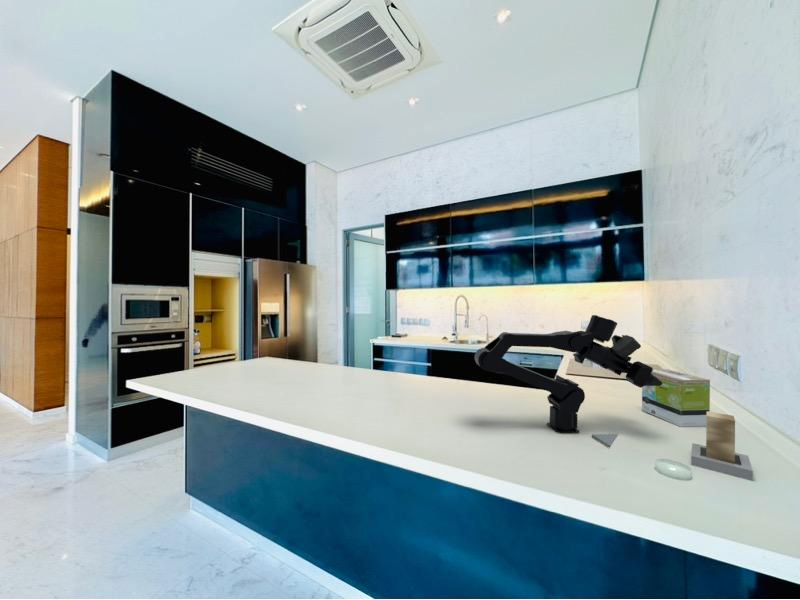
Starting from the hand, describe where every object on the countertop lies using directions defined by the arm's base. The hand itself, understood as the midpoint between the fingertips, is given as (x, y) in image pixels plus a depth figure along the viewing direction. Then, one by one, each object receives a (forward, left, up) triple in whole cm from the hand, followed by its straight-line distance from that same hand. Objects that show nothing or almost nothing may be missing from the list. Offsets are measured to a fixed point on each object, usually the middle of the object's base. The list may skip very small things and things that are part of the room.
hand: (650, 378), depth 96 cm
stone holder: (-2, -21, -15) cm, 27 cm away
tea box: (+17, +11, -16) cm, 26 cm away
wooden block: (-2, -21, -14) cm, 26 cm away
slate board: (-13, -10, -15) cm, 23 cm away
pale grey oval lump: (-16, -24, -15) cm, 33 cm away
